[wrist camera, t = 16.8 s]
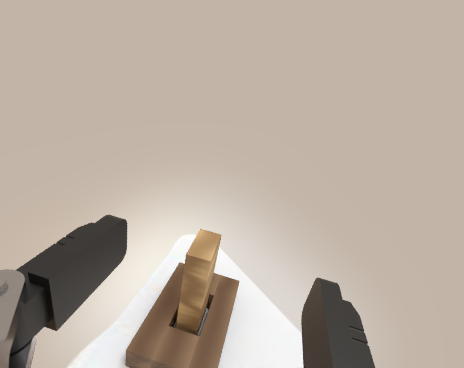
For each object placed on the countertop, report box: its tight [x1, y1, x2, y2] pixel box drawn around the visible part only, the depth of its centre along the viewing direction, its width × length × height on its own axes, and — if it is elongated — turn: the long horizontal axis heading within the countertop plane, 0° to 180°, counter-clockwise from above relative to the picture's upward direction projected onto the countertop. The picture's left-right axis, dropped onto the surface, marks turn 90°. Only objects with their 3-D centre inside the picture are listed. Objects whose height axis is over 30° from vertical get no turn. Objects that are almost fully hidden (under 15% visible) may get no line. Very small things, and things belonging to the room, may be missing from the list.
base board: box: [126, 263, 239, 368], centre depth 37 cm, size 11×16×3 cm
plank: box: [176, 229, 221, 335], centre depth 35 cm, size 3×6×15 cm, turn 169°
